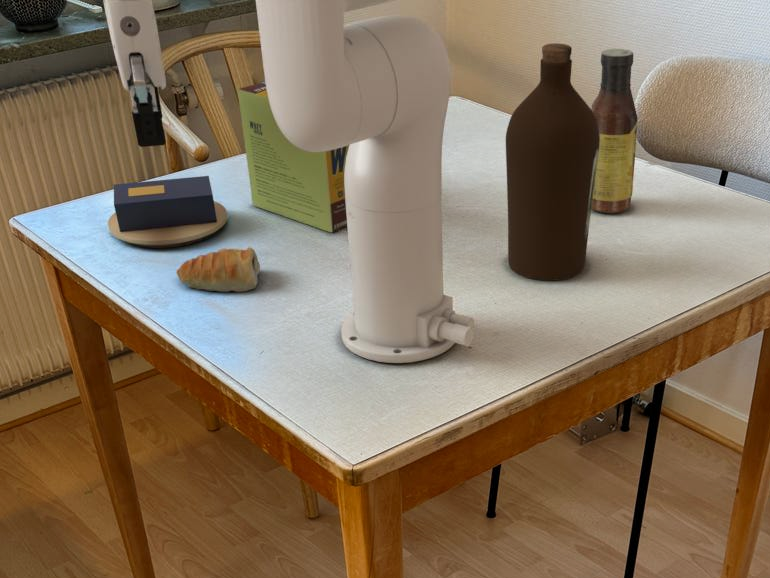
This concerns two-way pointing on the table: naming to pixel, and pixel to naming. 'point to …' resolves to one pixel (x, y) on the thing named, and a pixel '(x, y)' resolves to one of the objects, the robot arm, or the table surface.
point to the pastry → (222, 270)
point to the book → (165, 211)
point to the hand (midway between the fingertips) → (151, 132)
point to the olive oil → (551, 174)
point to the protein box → (290, 169)
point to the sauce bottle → (615, 133)
